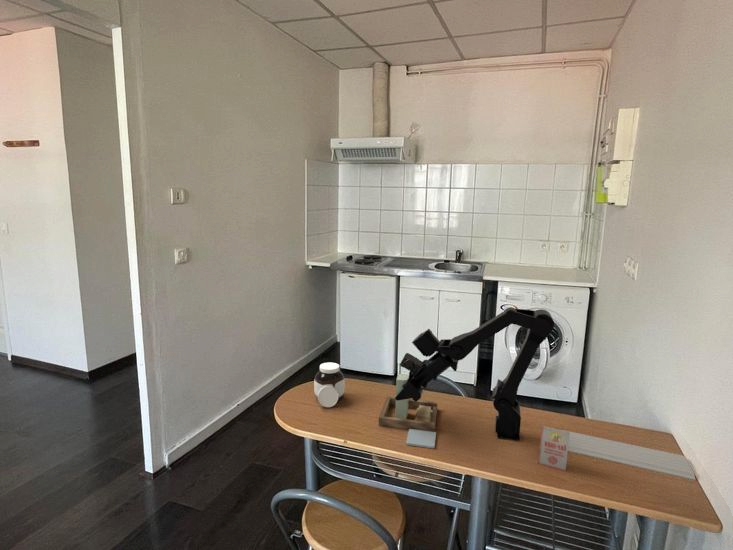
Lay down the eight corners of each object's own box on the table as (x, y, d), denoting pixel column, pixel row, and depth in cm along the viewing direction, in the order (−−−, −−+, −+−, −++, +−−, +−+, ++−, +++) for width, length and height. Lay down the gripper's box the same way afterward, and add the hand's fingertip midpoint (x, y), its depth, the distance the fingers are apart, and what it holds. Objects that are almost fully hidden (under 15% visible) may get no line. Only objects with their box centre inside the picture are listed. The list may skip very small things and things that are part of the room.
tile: (435, 434, 129) (436, 432, 129) (434, 448, 122) (434, 446, 122) (409, 430, 131) (409, 428, 131) (405, 444, 123) (405, 442, 123)
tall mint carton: (407, 412, 142) (409, 374, 140) (406, 419, 137) (407, 380, 135) (397, 411, 143) (398, 373, 141) (395, 418, 138) (396, 379, 136)
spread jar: (335, 390, 158) (336, 359, 156) (353, 402, 149) (353, 369, 147) (306, 398, 151) (306, 366, 149) (322, 411, 142) (323, 377, 140)
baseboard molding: (696, 486, 109) (684, 461, 120) (698, 475, 108) (686, 451, 119) (561, 454, 121) (561, 434, 132) (562, 444, 121) (562, 425, 132)
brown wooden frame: (437, 409, 145) (437, 402, 145) (434, 432, 130) (434, 424, 130) (386, 403, 149) (387, 396, 148) (378, 425, 134) (378, 417, 133)
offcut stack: (432, 412, 143) (432, 405, 142) (430, 427, 133) (430, 420, 133) (417, 410, 144) (417, 403, 143) (413, 425, 134) (414, 418, 134)
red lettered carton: (539, 456, 119) (542, 422, 117) (566, 464, 116) (570, 429, 114) (537, 463, 116) (541, 428, 114) (565, 471, 113) (569, 435, 111)
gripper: (421, 338, 144) (388, 366, 149) (410, 357, 126) (373, 387, 131) (444, 364, 143) (410, 391, 148) (436, 386, 125) (397, 416, 130)
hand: (398, 395), depth 139 cm, fingers closed on tall mint carton, 5 cm apart
